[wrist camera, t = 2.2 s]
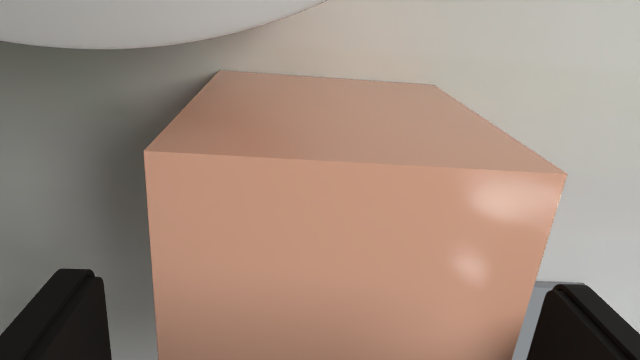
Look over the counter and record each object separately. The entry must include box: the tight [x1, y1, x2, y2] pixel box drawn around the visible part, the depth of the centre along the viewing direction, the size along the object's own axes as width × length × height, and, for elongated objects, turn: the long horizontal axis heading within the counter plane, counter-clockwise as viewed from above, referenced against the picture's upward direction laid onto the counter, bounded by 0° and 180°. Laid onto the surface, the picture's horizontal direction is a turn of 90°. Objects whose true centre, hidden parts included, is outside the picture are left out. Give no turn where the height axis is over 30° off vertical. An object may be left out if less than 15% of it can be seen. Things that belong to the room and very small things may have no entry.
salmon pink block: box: [144, 70, 567, 360], centre depth 13 cm, size 7×7×8 cm
